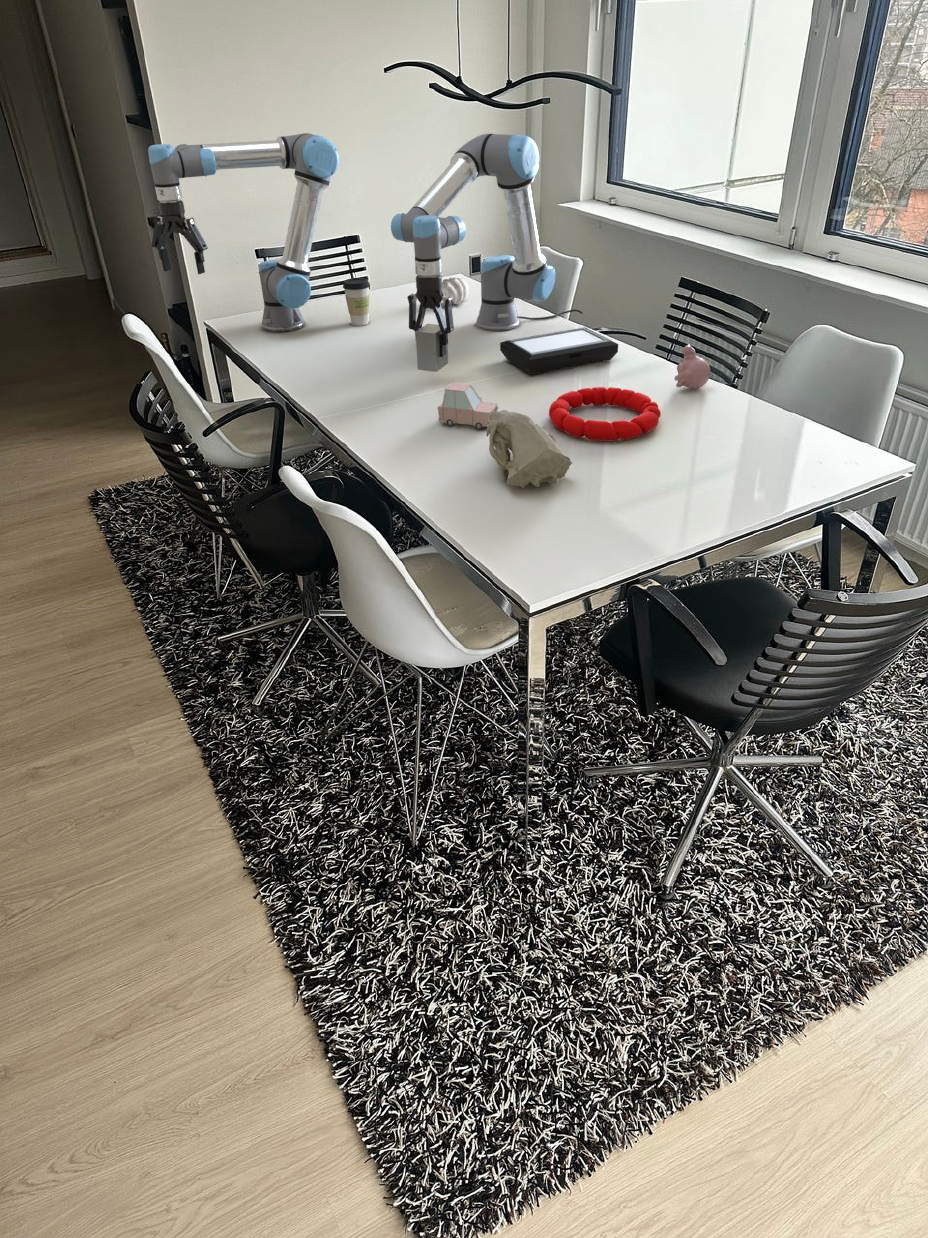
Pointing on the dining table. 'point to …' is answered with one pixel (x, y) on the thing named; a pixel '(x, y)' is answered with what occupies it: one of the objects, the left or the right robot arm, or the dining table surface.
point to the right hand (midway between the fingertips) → (432, 354)
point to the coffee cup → (357, 300)
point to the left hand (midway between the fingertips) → (184, 271)
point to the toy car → (465, 406)
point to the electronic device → (558, 350)
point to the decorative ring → (604, 428)
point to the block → (429, 348)
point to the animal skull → (525, 450)
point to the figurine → (692, 370)
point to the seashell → (455, 289)
